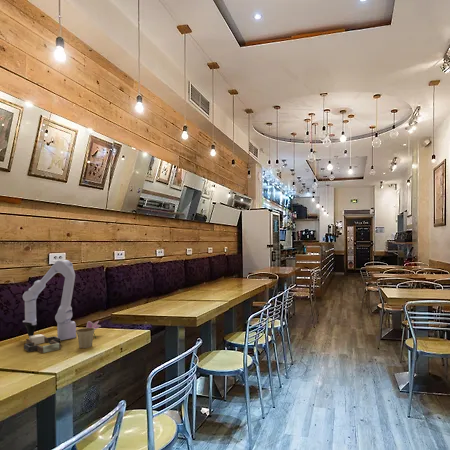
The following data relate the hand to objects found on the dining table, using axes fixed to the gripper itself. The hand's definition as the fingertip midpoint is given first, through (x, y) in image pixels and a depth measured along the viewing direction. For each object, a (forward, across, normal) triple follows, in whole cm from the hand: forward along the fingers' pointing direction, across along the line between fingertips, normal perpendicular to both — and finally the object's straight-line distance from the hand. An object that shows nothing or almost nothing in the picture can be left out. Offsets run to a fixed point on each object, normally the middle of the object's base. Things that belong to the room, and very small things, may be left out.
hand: (30, 336), depth 216 cm
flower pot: (+2, +41, +15) cm, 44 cm away
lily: (+2, +23, +26) cm, 34 cm away
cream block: (+2, +11, 0) cm, 11 cm away
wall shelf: (+2, +22, 0) cm, 22 cm away
